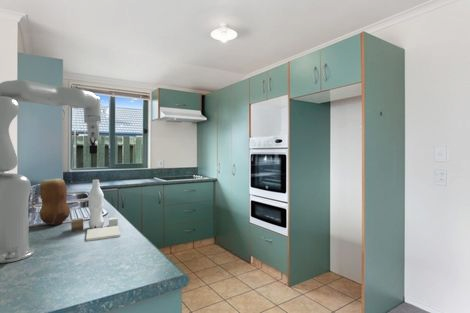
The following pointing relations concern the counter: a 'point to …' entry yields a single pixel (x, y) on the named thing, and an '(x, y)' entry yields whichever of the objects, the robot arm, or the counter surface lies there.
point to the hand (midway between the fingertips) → (93, 153)
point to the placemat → (102, 233)
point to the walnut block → (77, 225)
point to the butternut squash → (53, 201)
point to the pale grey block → (113, 222)
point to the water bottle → (96, 205)
